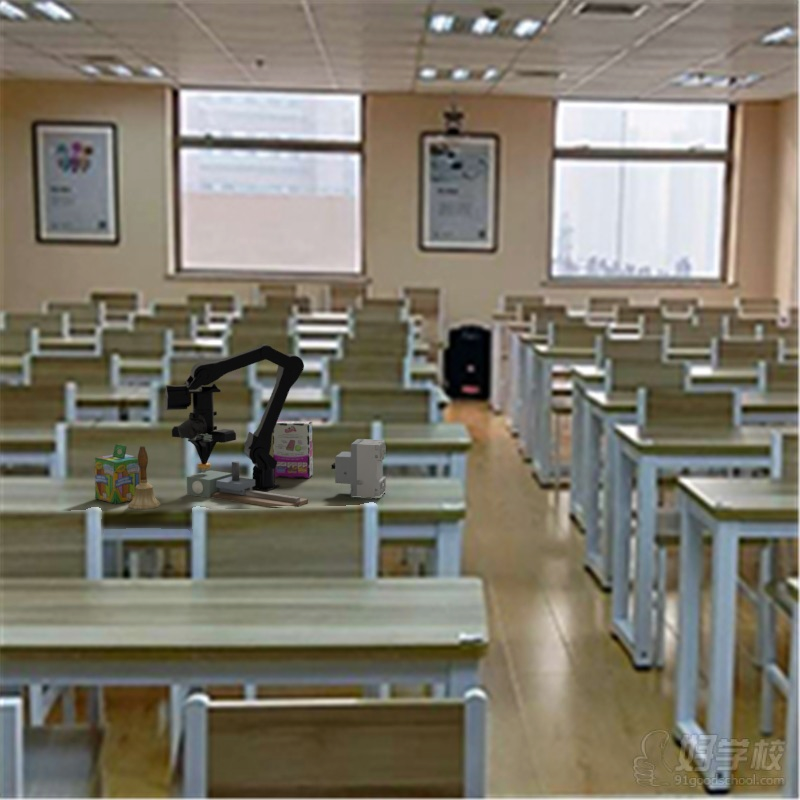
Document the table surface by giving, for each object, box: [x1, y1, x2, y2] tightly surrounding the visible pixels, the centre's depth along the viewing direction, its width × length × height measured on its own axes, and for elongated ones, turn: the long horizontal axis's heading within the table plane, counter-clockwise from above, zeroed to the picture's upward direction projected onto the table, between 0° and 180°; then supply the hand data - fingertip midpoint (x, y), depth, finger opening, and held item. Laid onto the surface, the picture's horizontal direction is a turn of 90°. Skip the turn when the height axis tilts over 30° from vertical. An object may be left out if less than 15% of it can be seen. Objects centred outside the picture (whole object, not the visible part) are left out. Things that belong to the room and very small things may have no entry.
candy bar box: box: [272, 420, 314, 479], centre depth 347 cm, size 11×5×16 cm, turn 82°
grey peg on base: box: [216, 461, 255, 495], centre depth 321 cm, size 7×8×8 cm
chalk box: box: [94, 443, 141, 505], centre depth 317 cm, size 9×9×15 cm
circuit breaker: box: [330, 438, 387, 498], centre depth 324 cm, size 8×14×15 cm, turn 78°
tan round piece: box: [196, 462, 211, 473], centre depth 326 cm, size 4×4×2 cm
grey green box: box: [186, 469, 232, 499], centre depth 325 cm, size 10×8×5 cm
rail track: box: [211, 488, 309, 507], centre depth 317 cm, size 9×26×2 cm, turn 60°
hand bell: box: [128, 446, 161, 510], centre depth 309 cm, size 8×8×16 cm
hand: (204, 463), depth 326 cm, fingers closed, pressing on tan round piece
